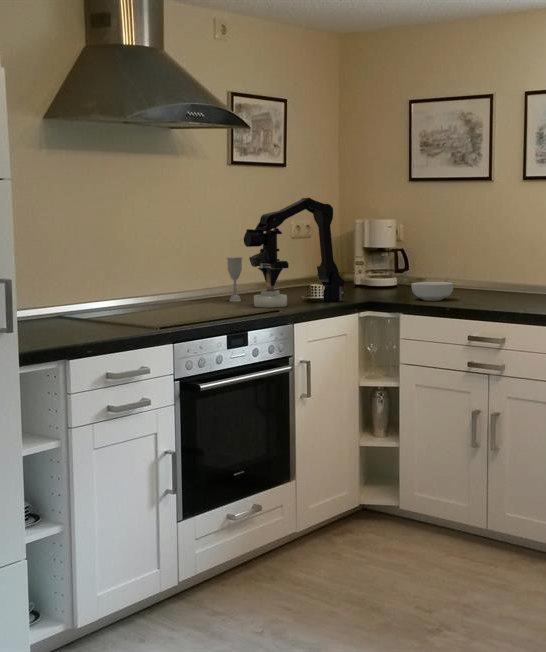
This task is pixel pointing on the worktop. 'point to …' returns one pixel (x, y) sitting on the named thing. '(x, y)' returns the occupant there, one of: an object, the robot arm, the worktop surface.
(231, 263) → the chalice
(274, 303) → the disc with square recess
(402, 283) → the worktop surface
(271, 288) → the dowel
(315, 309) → the worktop surface
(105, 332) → the worktop surface
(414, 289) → the cereal bowl
